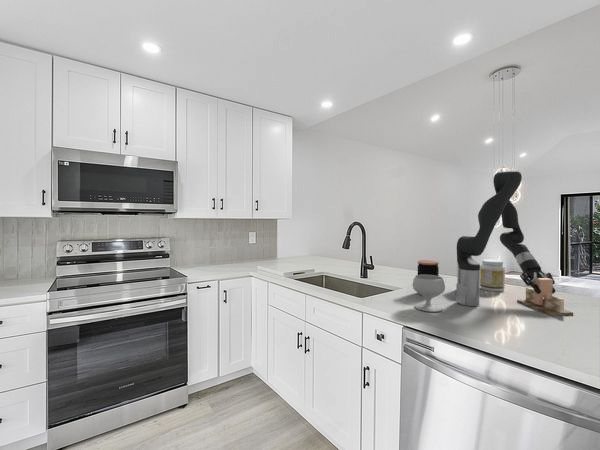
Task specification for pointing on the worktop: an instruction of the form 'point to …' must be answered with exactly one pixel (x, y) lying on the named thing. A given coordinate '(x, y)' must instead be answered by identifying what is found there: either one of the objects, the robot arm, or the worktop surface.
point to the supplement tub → (492, 275)
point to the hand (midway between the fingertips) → (546, 292)
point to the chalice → (428, 290)
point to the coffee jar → (428, 267)
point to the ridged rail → (545, 304)
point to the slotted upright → (543, 289)
